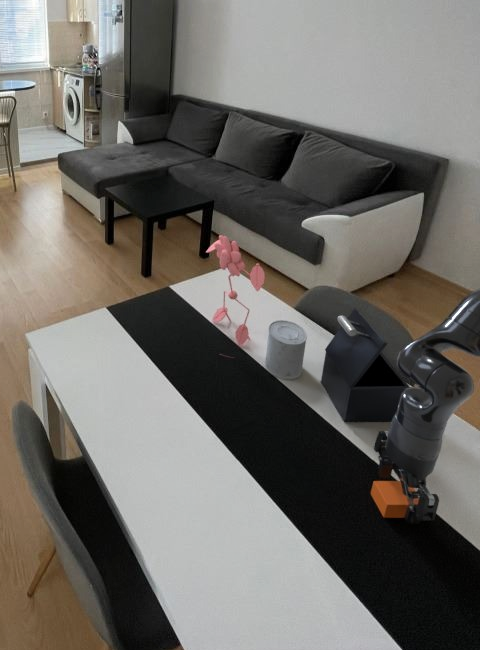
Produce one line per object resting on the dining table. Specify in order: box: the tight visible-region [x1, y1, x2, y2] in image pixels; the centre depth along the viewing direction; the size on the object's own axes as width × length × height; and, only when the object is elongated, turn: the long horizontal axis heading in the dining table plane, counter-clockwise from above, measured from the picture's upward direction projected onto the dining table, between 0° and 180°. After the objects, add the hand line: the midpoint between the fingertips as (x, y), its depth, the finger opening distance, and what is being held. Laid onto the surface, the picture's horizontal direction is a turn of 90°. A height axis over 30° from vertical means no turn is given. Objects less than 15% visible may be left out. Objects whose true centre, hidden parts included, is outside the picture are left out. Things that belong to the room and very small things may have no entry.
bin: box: [320, 351, 411, 424], centre depth 107 cm, size 14×12×11 cm
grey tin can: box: [264, 319, 308, 380], centre depth 119 cm, size 10×10×12 cm
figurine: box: [205, 234, 266, 359], centre depth 128 cm, size 15×26×35 cm, turn 19°
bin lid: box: [324, 307, 388, 388], centre depth 103 cm, size 14×12×6 cm
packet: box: [370, 480, 418, 519], centre depth 86 cm, size 7×5×4 cm, turn 87°
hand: (396, 497), depth 86 cm, fingers open, 8 cm apart
